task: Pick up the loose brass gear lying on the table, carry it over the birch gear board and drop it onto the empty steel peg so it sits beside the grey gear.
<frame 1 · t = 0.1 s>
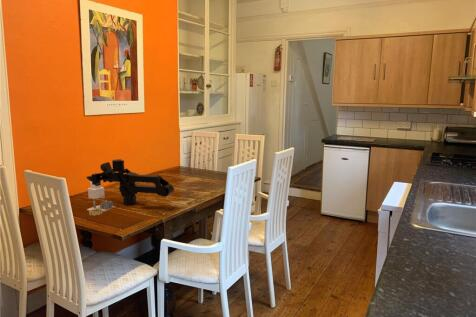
hand: (92, 175, 218), 17 cm above the table, tool horizontal, fingers open, 9 cm apart
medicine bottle: (96, 198, 230), on the table
brass gear: (96, 215, 195), on the table
grey gear: (106, 207, 206), resting on birch gear board
birch gear board: (101, 210, 206), on the table
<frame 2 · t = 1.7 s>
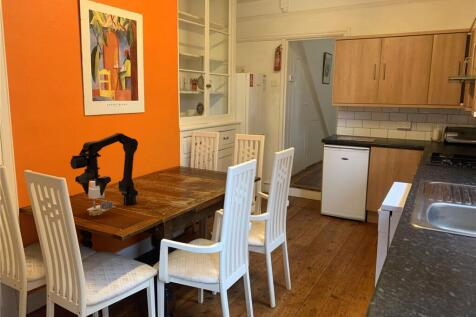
hand: (94, 195, 194), 11 cm above the table, tool pointing down, fingers open, 9 cm apart
nothing on the table moved.
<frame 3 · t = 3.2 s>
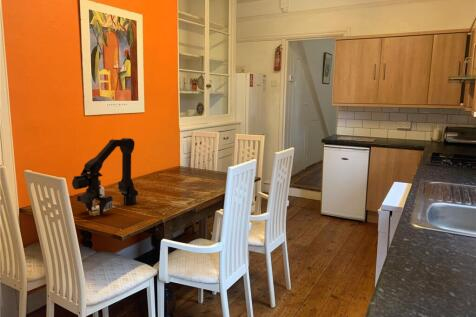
hand: (95, 214, 195), 1 cm above the table, tool pointing down, fingers closed on brass gear, 6 cm apart
brass gear: (96, 215, 195), on the table, touching gripper
everything else where it was.
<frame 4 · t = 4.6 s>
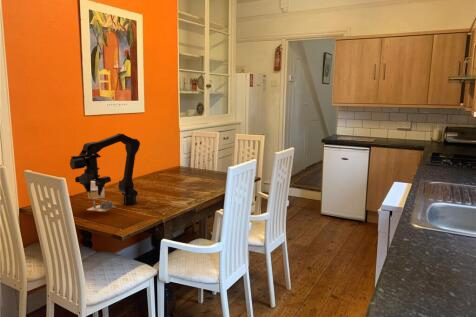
hand: (94, 194, 196), 11 cm above the table, tool pointing down, fingers closed on brass gear, 6 cm apart
brass gear: (94, 196, 197), point 10 cm above the table, touching gripper
everything else where it was.
when the fingers open (7 cm above the table, at t = 6.3 s): brass gear drops 5 cm, resting on birch gear board.
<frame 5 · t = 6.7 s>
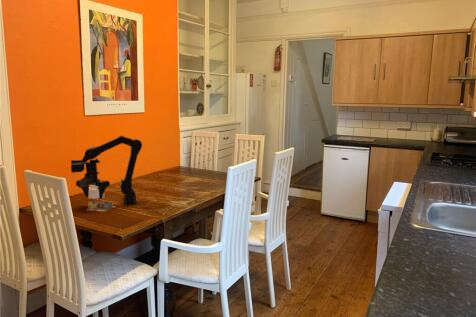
hand: (93, 198, 205), 7 cm above the table, tool pointing down, fingers open, 9 cm apart
brass gear: (94, 207, 206), point 1 cm above the table, touching birch gear board
everything else where it was.
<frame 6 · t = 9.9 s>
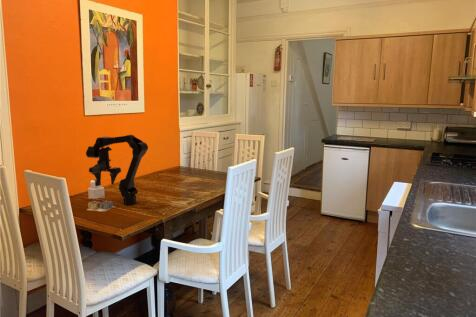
hand: (105, 184, 216), 12 cm above the table, tool pointing down, fingers open, 9 cm apart
nothing on the table moved.
at the end: brass gear 0.0 cm from the target spot, point 1.2 cm above the table; the gripper is holding nothing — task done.
